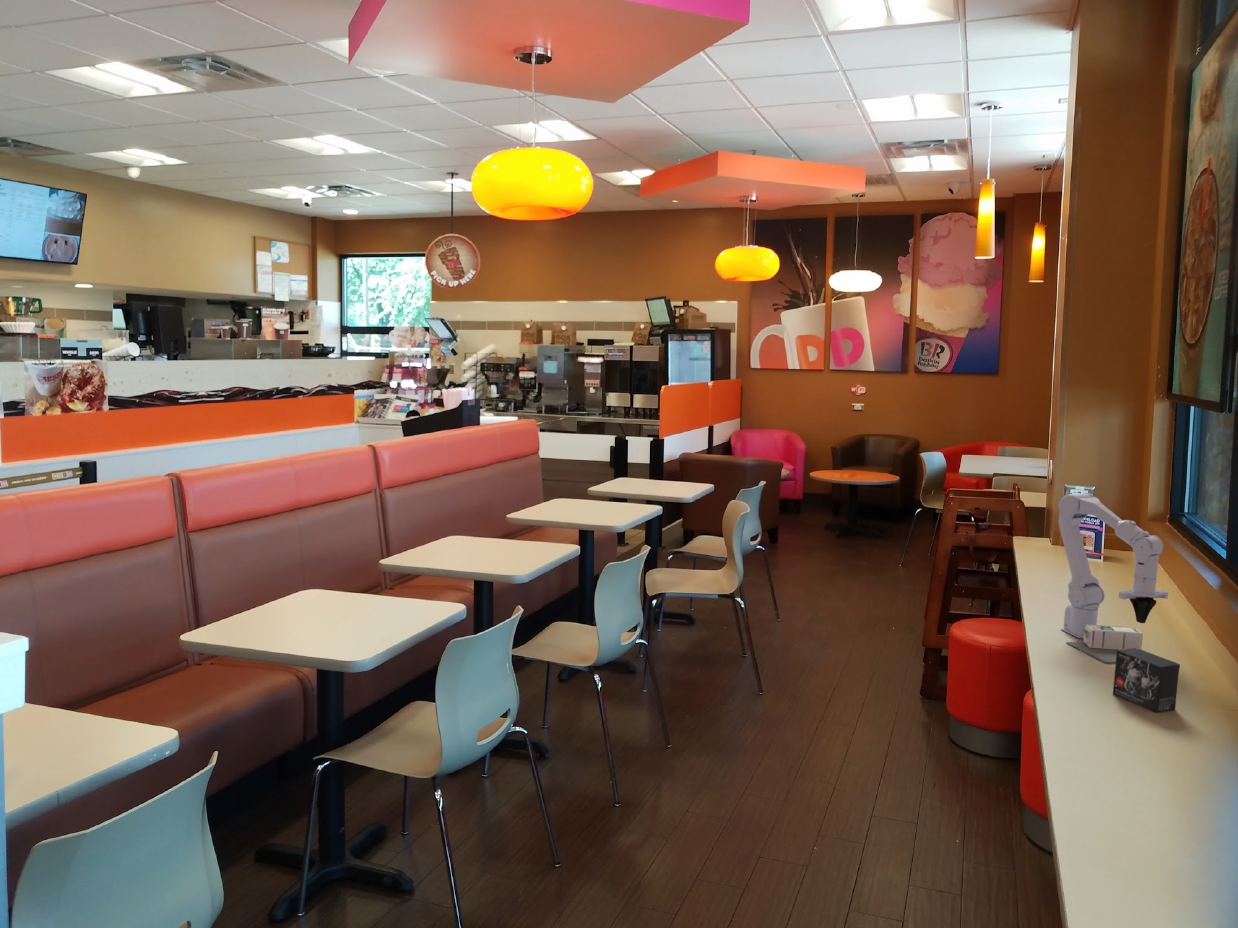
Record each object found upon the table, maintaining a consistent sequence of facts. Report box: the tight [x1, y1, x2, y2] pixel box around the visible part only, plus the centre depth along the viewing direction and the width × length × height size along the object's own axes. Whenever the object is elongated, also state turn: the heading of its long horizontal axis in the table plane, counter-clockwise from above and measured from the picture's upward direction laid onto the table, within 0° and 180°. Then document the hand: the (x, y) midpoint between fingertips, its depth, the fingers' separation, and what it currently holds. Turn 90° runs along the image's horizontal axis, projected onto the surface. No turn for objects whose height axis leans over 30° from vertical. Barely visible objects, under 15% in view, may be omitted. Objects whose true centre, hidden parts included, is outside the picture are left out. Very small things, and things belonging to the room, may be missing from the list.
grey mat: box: [1065, 641, 1117, 664], centre depth 277 cm, size 18×16×1 cm
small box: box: [1112, 648, 1181, 714], centre depth 238 cm, size 13×7×12 cm, turn 21°
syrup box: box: [1082, 624, 1144, 650], centre depth 281 cm, size 6×6×14 cm
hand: (1140, 622), depth 278 cm, fingers closed
